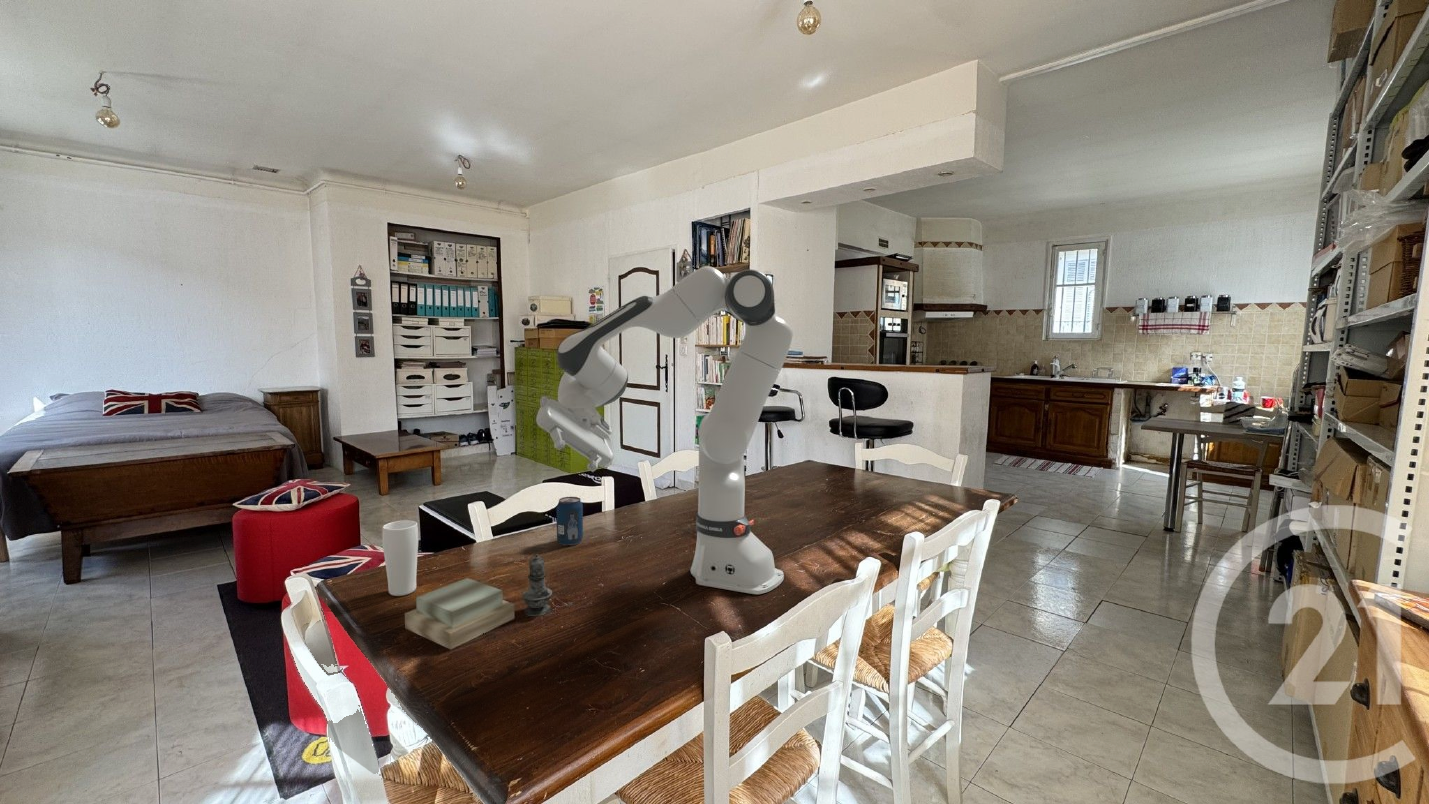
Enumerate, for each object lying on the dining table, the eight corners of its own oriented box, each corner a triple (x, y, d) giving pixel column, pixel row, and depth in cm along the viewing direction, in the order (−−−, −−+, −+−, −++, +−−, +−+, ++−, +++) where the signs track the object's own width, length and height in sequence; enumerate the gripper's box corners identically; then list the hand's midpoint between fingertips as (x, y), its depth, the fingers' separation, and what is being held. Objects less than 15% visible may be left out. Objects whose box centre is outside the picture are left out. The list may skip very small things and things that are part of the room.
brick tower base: (514, 618, 116) (513, 589, 115) (450, 649, 104) (449, 617, 103) (469, 601, 123) (468, 573, 122) (405, 628, 111) (404, 598, 110)
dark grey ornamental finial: (526, 604, 122) (525, 548, 121) (554, 603, 123) (554, 548, 121) (519, 617, 116) (518, 559, 115) (549, 616, 117) (548, 558, 116)
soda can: (570, 536, 165) (569, 494, 163) (588, 540, 161) (588, 498, 160) (551, 543, 159) (551, 500, 157) (570, 548, 155) (569, 504, 154)
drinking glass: (384, 600, 122) (381, 531, 121) (385, 588, 128) (382, 522, 127) (420, 595, 126) (417, 527, 124) (419, 583, 131) (417, 518, 130)
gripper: (551, 384, 128) (548, 424, 118) (617, 432, 140) (620, 472, 129) (531, 401, 130) (527, 442, 119) (598, 446, 142) (600, 487, 131)
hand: (576, 458), depth 125 cm, fingers open, 8 cm apart
